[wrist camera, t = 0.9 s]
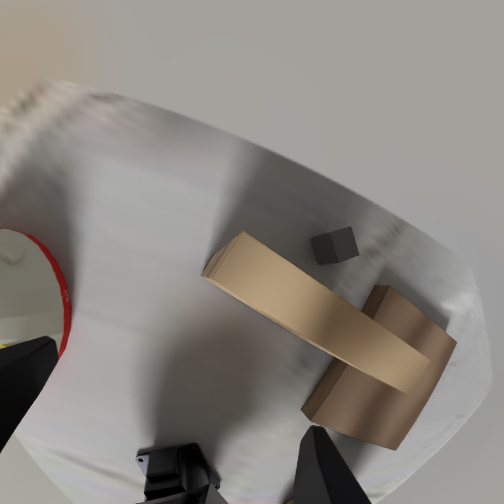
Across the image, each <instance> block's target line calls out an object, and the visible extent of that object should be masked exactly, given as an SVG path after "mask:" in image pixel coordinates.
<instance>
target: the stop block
mask: <svg viewBox="0 0 504 504" xmlns="http://www.w3.org/2000/svg"><path fill="white" fill-rule="evenodd" d="M310 239H311V242H312V245H313V249H314V252H315V255H316V259H317V262H318V264H329V263H339V262H342V261H345V260H348V259H350V258H353V257H356V256H358V255H359V252H358V249H357V245H356V242H355V238H354V235H353V231H352V228H351V226H350V227H347V228H343V229H340V230H337V231H333V232H330V233H327V234H323V235H320V236H317V237H314V238H310Z"/></svg>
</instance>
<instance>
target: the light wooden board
mask: <svg viewBox="0 0 504 504" xmlns="http://www.w3.org/2000/svg"><path fill="white" fill-rule="evenodd" d="M201 276H202V277H204V278H205V279H207V280H208V281H210V282H211V283H213V284H214V285H216V286H218V287H219V288H221V289H222V290H224V291H225V292H227V293H228V294H230V295H232V296H233V297H235V298H236V299H238V300H240V301H241V302H243V303H244V304H246V305H248V306H249V307H251V308H252V309H254V310H256V311H257V312H259V313H260V314H262V315H264V316H265V317H267V318H269V319H270V320H272V321H273V322H275V323H277V324H278V325H280V326H282V327H283V328H285V329H287V330H288V331H290V332H292V333H293V334H295V335H297V336H298V337H300V338H302V339H304V340H305V341H307V342H309V343H310V344H312V345H314V346H316V347H318V348H320V349H321V350H323V351H325V352H327V353H329V354H330V355H332V356H334V357H336V358H338V359H340V360H342V361H343V362H345V363H347V364H349V365H351V366H353V367H355V368H357V369H358V370H360V371H362V372H364V373H366V374H368V375H370V376H372V377H374V378H376V379H378V380H380V381H382V382H384V383H386V384H388V385H390V386H392V387H394V388H396V389H398V390H400V391H402V392H404V393H406V394H408V395H410V396H411V395H412V394H413V392H414V390H415V388H416V387H417V385H418V383H419V381H420V379H421V377H422V376H423V374H424V372H425V370H426V368H427V366H428V364H429V362H430V360H429V359H428V358H426V357H425V356H424V355H422V354H421V353H419V352H418V351H417V350H415V349H414V348H412V347H411V346H410V345H408V344H407V343H405V342H404V341H402V340H401V339H400V338H398V337H397V336H395V335H394V334H392V333H391V332H390V331H388V330H387V329H385V328H384V327H382V326H381V325H380V324H378V323H377V322H375V321H374V320H372V319H371V318H370V317H368V316H367V315H365V314H364V313H362V312H361V311H359V310H358V309H357V308H355V307H354V306H352V305H351V304H349V303H348V302H346V301H345V300H344V299H342V298H341V297H339V296H338V295H336V294H335V293H333V292H332V291H331V290H329V289H328V288H326V287H325V286H323V285H322V284H320V283H319V282H317V281H316V280H315V279H313V278H312V277H310V276H309V275H307V274H306V273H304V272H303V271H301V270H300V269H298V268H297V267H296V266H294V265H293V264H291V263H290V262H288V261H287V260H285V259H284V258H282V257H281V256H279V255H278V254H276V253H275V252H273V251H272V250H270V249H269V248H268V247H266V246H265V245H263V244H262V243H260V242H259V241H257V240H256V239H254V238H253V237H251V236H250V235H248V234H247V233H245V232H244V231H242V232H241V233H240V234H239V235H237V236H236V237H235V238H234V239H233V240H231V241H230V242H229V243H228V244H227V245H225V246H224V247H223V248H222V249H221V250H219V251H218V252H217V253H216V254H215V255H214V256H213V257H212V259H211V260H210V262H209V264H208V265H207V267H206V268H205V270H204V271H203V273H202V274H201Z"/></svg>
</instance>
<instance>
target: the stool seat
mask: <svg viewBox="0 0 504 504" xmlns="http://www.w3.org/2000/svg"><path fill="white" fill-rule="evenodd" d="M361 312H362V313H364V314H365V315H367V316H368V317H370V318H371V319H372V320H374V321H375V322H377V323H378V324H380V325H381V326H382V327H384V328H385V329H387V330H388V331H390V332H391V333H392V334H394V335H395V336H397V337H398V338H400V339H401V340H402V341H404V342H405V343H407V344H408V345H410V346H411V347H412V348H414V349H415V350H417V351H418V352H419V353H421V354H422V355H424V356H425V357H426V358H428V359H429V360H430V362H429V364H428V366H427V368H426V370H425V372H424V374H423V376H422V377H421V379H420V381H419V383H418V385H417V387H416V388H415V390H414V392H413V394H412V395H411V396H410V395H408V394H406V393H404V392H402V391H400V390H398V389H396V388H394V387H392V386H390V385H388V384H386V383H384V382H382V381H380V380H378V379H376V378H374V377H372V376H370V375H368V374H366V373H364V372H362V371H360V370H358V369H357V368H355V367H353V366H351V365H349V364H347V363H345V362H343V361H342V360H340V359H338V358H336V357H335V358H334V360H333V362H332V363H331V365H330V367H329V368H328V370H327V371H326V373H325V375H324V376H323V378H322V379H321V381H320V382H319V384H318V385H317V387H316V388H315V390H314V391H313V393H312V394H311V396H310V397H309V399H308V400H307V402H306V403H305V405H304V406H303V408H302V409H301V411H302V412H303V413H304V414H305V415H306V417H307V418H308V419H309V420H310V421H312V422H314V423H317V424H319V425H322V426H324V427H327V428H329V429H332V430H335V431H337V432H340V433H343V434H345V435H348V436H351V437H354V438H357V439H360V440H363V441H366V442H369V443H372V444H375V445H378V446H381V447H385V448H388V449H391V450H395V451H396V450H397V448H398V447H399V445H400V444H401V442H402V441H403V440H404V438H405V437H406V435H407V434H408V432H409V431H410V429H411V428H412V426H413V424H414V423H415V421H416V420H417V418H418V416H419V415H420V413H421V411H422V410H423V408H424V406H425V405H426V403H427V401H428V399H429V398H430V396H431V394H432V392H433V391H434V389H435V387H436V385H437V383H438V381H439V379H440V377H441V375H442V373H443V371H444V369H445V367H446V365H447V363H448V361H449V359H450V357H451V355H452V353H453V350H454V348H455V346H456V344H457V342H456V341H455V340H454V339H453V338H452V337H450V336H449V335H448V334H447V333H446V332H445V331H444V330H442V329H441V328H440V327H439V326H438V325H437V324H435V323H434V322H433V321H432V320H431V319H430V318H428V317H427V316H426V315H425V314H424V313H422V312H421V311H420V310H419V309H418V308H416V307H415V306H414V305H413V304H412V303H410V302H409V301H408V300H407V299H406V298H404V297H403V296H402V295H401V294H399V293H398V292H397V291H396V290H394V289H393V288H392V287H391V286H380V285H375V286H374V288H373V290H372V292H371V294H370V296H369V298H368V300H367V302H366V304H365V306H364V308H363V310H362V311H361Z"/></svg>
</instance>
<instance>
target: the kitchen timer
mask: <svg viewBox="0 0 504 504" xmlns="http://www.w3.org/2000/svg"><path fill="white" fill-rule="evenodd" d="M70 329H71V305H70V300H69V295H68V290H67V284H66V282H65V280H64V277H63V275H62V272H61V270H60V268H59V265H58V263H57V262H56V260H55V259H54V258H53V256H52V255H51V253H50V252H49V251H48V249H47V248H46V247H45V246H44V245H43V244H41V243H40V242H39V241H37V240H36V239H35V238H34V237H32V236H30V235H27V234H24V233H20V232H17V231H14V230H10V229H0V349H1V348H4V347H8V346H11V345H15V344H18V343H21V342H25V341H28V340H32V339H35V338H38V337H42V336H49V337H51V338H53V339H54V340H55V341H56V344H57V350H58V355H59V359H60V357H61V355H62V354H63V352H64V350H65V349H66V345H67V341H68V337H69V333H70ZM59 359H58V360H59Z"/></svg>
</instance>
